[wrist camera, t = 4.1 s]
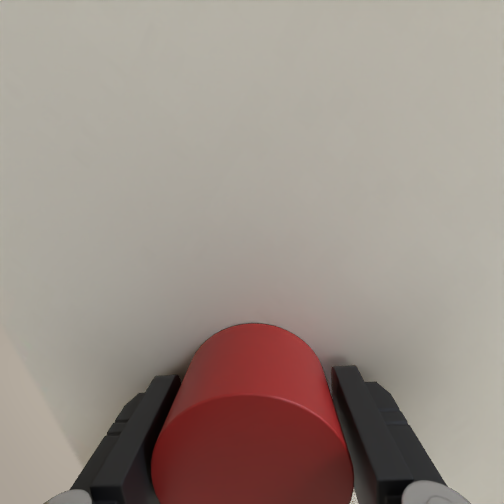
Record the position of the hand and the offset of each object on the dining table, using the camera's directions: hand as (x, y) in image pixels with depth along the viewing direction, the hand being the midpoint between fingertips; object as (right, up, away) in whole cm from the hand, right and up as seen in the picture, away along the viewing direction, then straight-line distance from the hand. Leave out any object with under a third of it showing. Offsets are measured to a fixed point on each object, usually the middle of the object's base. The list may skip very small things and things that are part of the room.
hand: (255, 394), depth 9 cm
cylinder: (0, 0, 0) cm, 0 cm away
